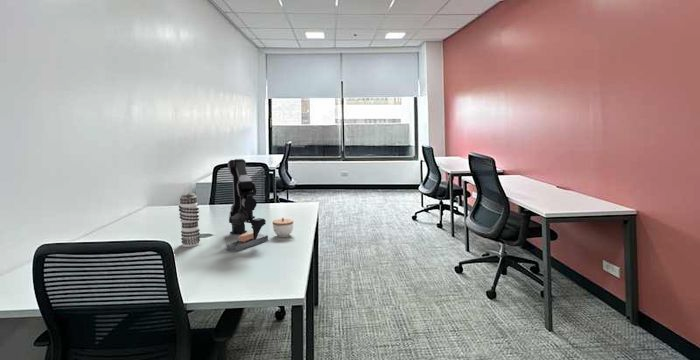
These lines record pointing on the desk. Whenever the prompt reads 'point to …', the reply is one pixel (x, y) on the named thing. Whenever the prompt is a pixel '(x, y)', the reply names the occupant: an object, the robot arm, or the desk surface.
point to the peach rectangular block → (246, 236)
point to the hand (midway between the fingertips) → (247, 238)
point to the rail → (246, 243)
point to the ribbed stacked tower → (189, 219)
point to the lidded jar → (283, 227)
